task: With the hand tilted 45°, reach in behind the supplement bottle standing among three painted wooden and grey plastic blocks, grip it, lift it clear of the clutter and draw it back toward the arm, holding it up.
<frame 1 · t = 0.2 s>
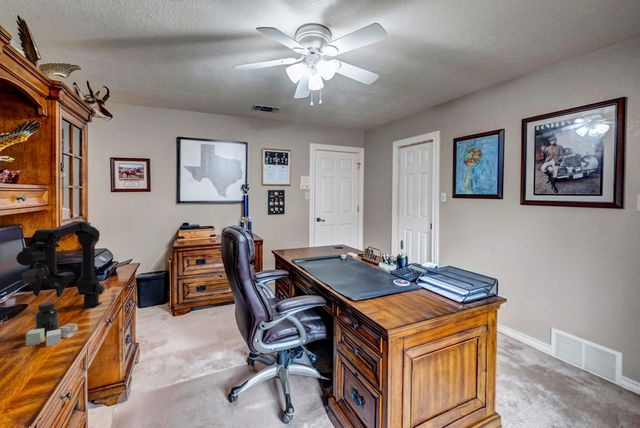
hand: (47, 296, 122), 14 cm above the table, tool pointing down, fingers open, 9 cm apart
supplement bottle: (47, 333, 120), on the table
grey plastic block: (53, 342, 113), on the table
birch block: (68, 335, 119), on the table
sage block: (35, 342, 112), on the table
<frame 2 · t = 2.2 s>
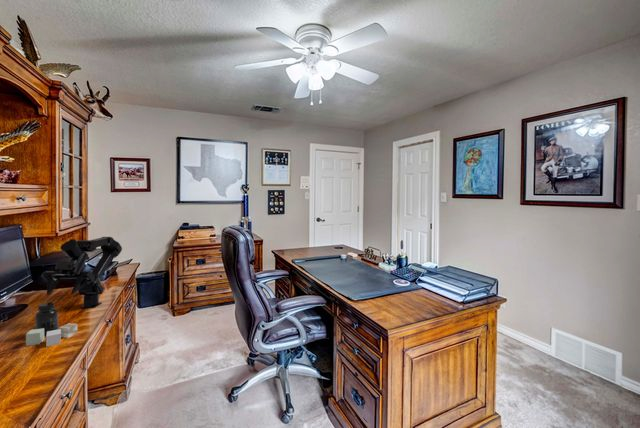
hand: (59, 294, 127), 13 cm above the table, tool tilted 45°, fingers open, 9 cm apart
nothing on the table moved.
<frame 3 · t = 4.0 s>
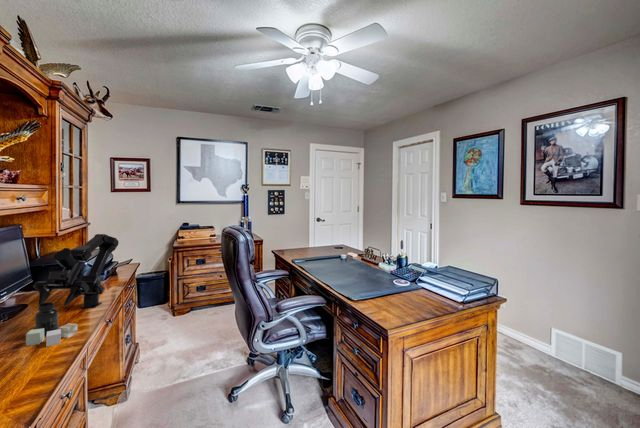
hand: (52, 305, 123), 10 cm above the table, tool tilted 45°, fingers open, 9 cm apart
nothing on the table moved.
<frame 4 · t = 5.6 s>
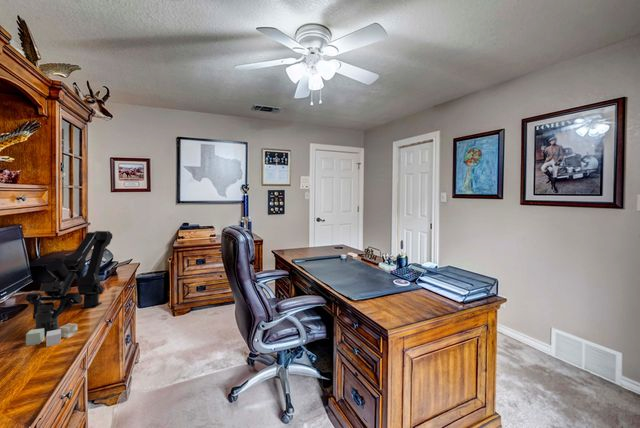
hand: (44, 318, 118), 7 cm above the table, tool tilted 45°, fingers closed on supplement bottle, 7 cm apart
supplement bottle: (47, 333, 120), on the table, touching gripper
everything else where it was.
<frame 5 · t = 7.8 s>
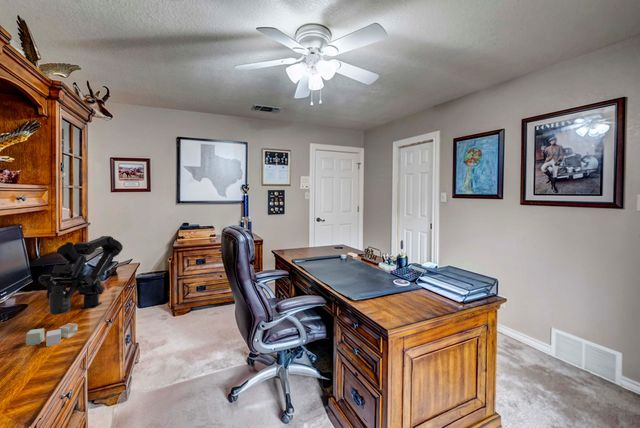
hand: (57, 298, 126), 12 cm above the table, tool tilted 45°, fingers closed on supplement bottle, 7 cm apart
supplement bottle: (60, 312, 128), point 5 cm above the table, touching gripper
everything else where it was.
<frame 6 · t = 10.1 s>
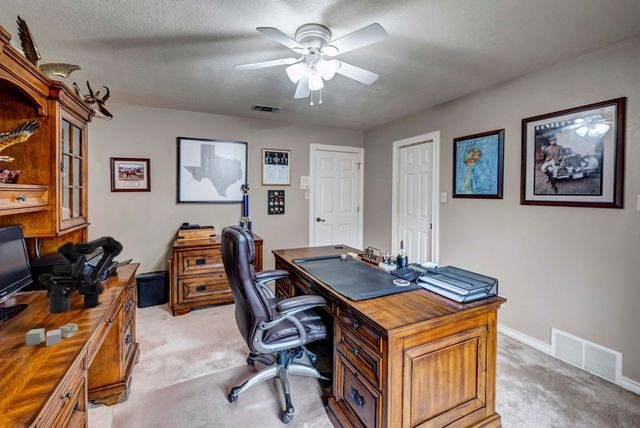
hand: (57, 297, 126), 12 cm above the table, tool tilted 45°, fingers closed on supplement bottle, 7 cm apart
supplement bottle: (60, 311, 128), point 6 cm above the table, touching gripper
everything else where it was.
at the end: the gripper is holding supplement bottle; supplement bottle inside the target area (0.2 cm from its centre), point 5.5 cm above the table; birch block moved 0.1 cm from its start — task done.
